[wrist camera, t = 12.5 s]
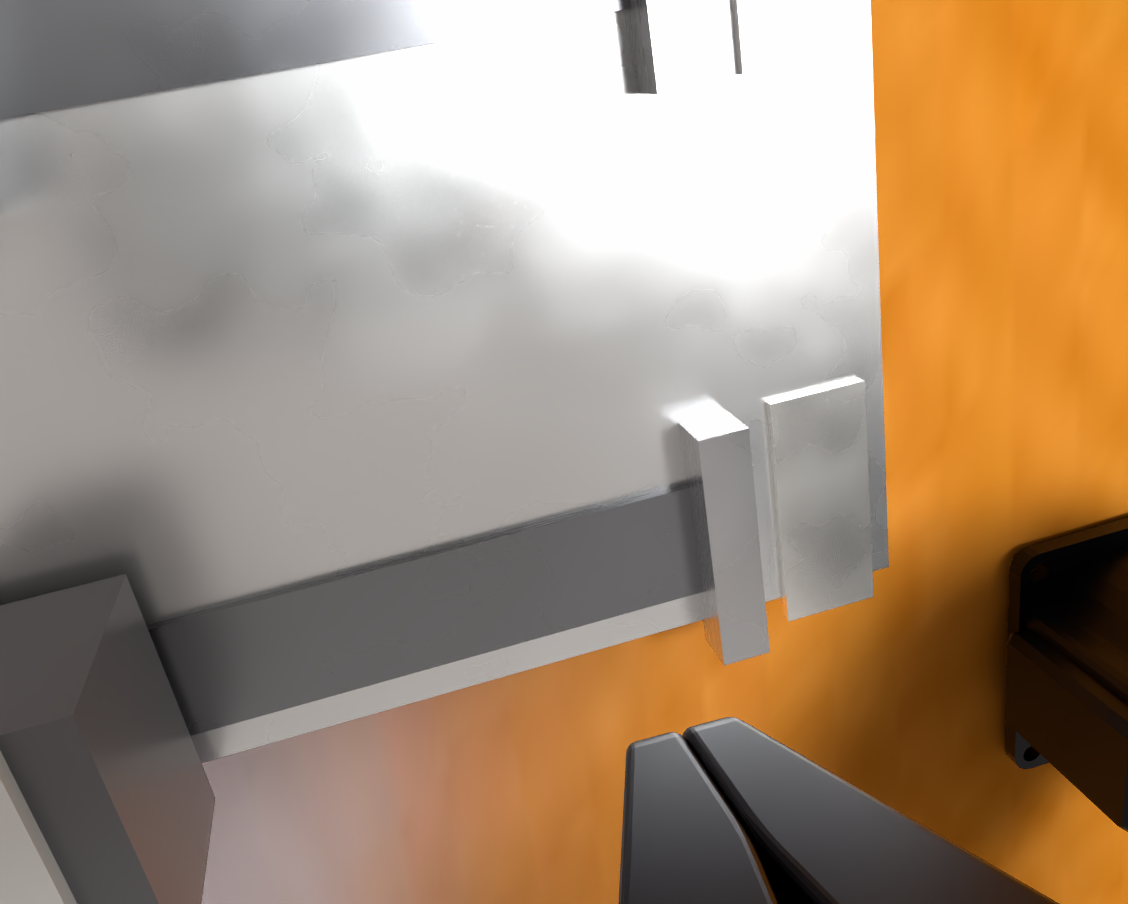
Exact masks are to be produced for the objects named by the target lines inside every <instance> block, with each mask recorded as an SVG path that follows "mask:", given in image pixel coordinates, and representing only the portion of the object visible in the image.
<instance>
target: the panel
mask: <svg viewBox="0 0 1128 904" xmlns="http://www.w3.org/2000/svg"><path fill="white" fill-rule="evenodd" d="M886 567H889V562H888V531H887V499H886V468H885V437H884V406H883V375H882V344H881V313H880V282H879V251H878V220H877V189H876V158H875V127H874V96H873V65H872V34H871V3H870V0H0V605H4V604H8V603H12V602H16V601H20V600H24V599H28V598H32V597H36V596H40V595H44V594H48V593H52V592H56V591H60V590H64V589H68V588H72V587H76V586H80V585H84V584H88V583H92V582H96V581H100V580H103V579H107V578H111V577H115V576H119V575H123V574H126V576H127V578H128V581H129V583H130V586H131V588H132V591H133V593H134V596H135V598H136V601H137V603H138V606H139V608H140V611H141V613H142V616H143V618H144V621H145V623H146V626H147V628H148V631H149V633H150V636H151V638H152V641H153V643H154V646H155V648H156V651H157V653H158V656H159V658H160V661H161V663H162V666H163V668H164V671H165V673H166V676H167V678H168V681H169V683H170V686H171V688H172V691H173V693H174V696H175V698H176V701H177V703H178V706H179V708H180V711H181V713H182V716H183V718H184V721H185V723H186V726H187V728H188V731H189V734H190V736H191V739H192V741H193V744H194V746H195V749H196V751H197V754H198V756H199V759H200V761H201V763H204V762H207V761H211V760H214V759H218V758H221V757H225V756H228V755H232V754H235V753H239V752H242V751H246V750H249V749H253V748H256V747H260V746H263V745H267V744H270V743H274V742H277V741H281V740H284V739H288V738H291V737H295V736H298V735H302V734H305V733H309V732H312V731H316V730H319V729H323V728H326V727H330V726H333V725H337V724H340V723H344V722H347V721H351V720H354V719H358V718H361V717H365V716H368V715H372V714H375V713H379V712H382V711H386V710H389V709H393V708H396V707H400V706H403V705H407V704H410V703H414V702H417V701H421V700H424V699H428V698H431V697H435V696H438V695H442V694H445V693H449V692H452V691H456V690H459V689H463V688H466V687H470V686H473V685H477V684H480V683H484V682H487V681H491V680H494V679H498V678H501V677H504V676H508V675H511V674H515V673H518V672H522V671H525V670H529V669H532V668H536V667H539V666H543V665H546V664H550V663H553V662H557V661H560V660H564V659H567V658H571V657H574V656H578V655H581V654H585V653H588V652H592V651H595V650H599V649H602V648H606V647H609V646H613V645H616V644H620V643H623V642H627V641H630V640H634V639H637V638H641V637H644V636H648V635H651V634H655V633H658V632H662V631H665V630H669V629H672V628H676V627H679V626H683V625H686V624H690V623H693V622H697V621H700V620H704V628H705V637H706V640H707V642H708V643H709V645H710V646H711V647H712V649H713V650H714V652H715V653H716V655H717V656H718V657H719V659H720V660H721V662H722V663H723V665H727V664H731V663H734V662H738V661H741V660H744V659H748V658H751V657H755V656H758V655H761V654H765V653H768V652H770V649H769V638H768V627H767V617H766V606H765V602H767V601H770V600H774V599H777V598H781V597H782V598H783V609H784V617H785V618H786V619H787V621H792V620H795V619H798V618H802V617H805V616H809V615H812V614H816V613H819V612H823V611H826V610H829V609H833V608H836V607H840V606H843V605H847V604H850V603H854V602H857V601H860V600H864V599H867V598H871V597H873V574H872V571H875V570H879V569H882V568H886Z"/></svg>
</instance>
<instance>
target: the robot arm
mask: <svg viewBox="0 0 1128 904" xmlns="http://www.w3.org/2000/svg"><path fill="white" fill-rule="evenodd" d="M1034 565H1036V567H1035V568H1034V569H1033V571H1031V569H1032V568H1033V567H1034ZM1005 720H1006V724H1005V752H1006V755H1007V756H1008V757H1009V758H1010V759H1011V760H1012V761H1013V762H1014V763H1015V764H1016V765H1017V766H1018V767H1019V768H1023V769H1029V768H1033V767H1036V766H1039V765H1042V764H1045V763H1048V762H1050V763H1051V764H1052V765H1053V766H1054V767H1055V768H1056V769H1057V770H1058V771H1059V772H1060V773H1061V774H1063V775H1064V776H1065V777H1066V778H1067V779H1068V780H1069V781H1070V782H1071V783H1072V784H1073V785H1074V786H1075V787H1077V788H1078V789H1079V790H1080V791H1081V792H1082V793H1083V794H1084V795H1085V796H1086V797H1087V798H1088V799H1089V800H1091V801H1092V802H1093V803H1094V804H1095V805H1096V806H1097V807H1098V808H1099V809H1100V810H1101V811H1102V812H1103V813H1105V814H1106V815H1107V816H1108V817H1109V818H1110V819H1111V820H1112V821H1113V822H1114V823H1115V824H1116V825H1117V826H1119V827H1120V828H1122V829H1124V830H1125V831H1127V832H1128V518H1124V519H1121V520H1117V521H1114V522H1110V523H1107V524H1103V525H1100V526H1097V527H1093V528H1090V529H1086V530H1083V531H1079V532H1076V533H1072V534H1069V535H1065V536H1062V537H1059V538H1055V539H1052V540H1048V541H1045V542H1041V543H1038V544H1034V545H1031V546H1028V547H1026V548H1024V549H1022V550H1020V551H1019V552H1018V553H1017V554H1016V555H1015V557H1014V558H1013V560H1012V562H1011V565H1010V570H1009V608H1008V643H1007V665H1006V704H1005ZM619 904H1059V903H1057V902H1055V901H1054V900H1052V899H1050V898H1048V897H1047V896H1045V895H1043V894H1041V893H1040V892H1038V891H1036V890H1035V889H1033V888H1031V887H1029V886H1028V885H1026V884H1024V883H1022V882H1021V881H1019V880H1017V879H1015V878H1014V877H1012V876H1010V875H1009V874H1007V873H1005V872H1003V871H1002V870H1000V869H998V868H996V867H995V866H993V865H991V864H990V863H988V862H986V861H984V860H983V859H981V858H979V857H977V856H976V855H974V854H972V853H970V852H969V851H967V850H965V849H964V848H962V847H960V846H958V845H957V844H955V843H953V842H951V841H950V840H948V839H946V838H945V837H943V836H941V835H939V834H938V833H936V832H934V831H932V830H931V829H929V828H927V827H925V826H924V825H922V824H920V823H919V822H917V821H915V820H913V819H912V818H910V817H908V816H906V815H905V814H903V813H901V812H900V811H898V810H896V809H894V808H893V807H891V806H889V805H887V804H886V803H884V802H882V801H880V800H879V799H877V798H875V797H874V796H872V795H870V794H868V793H867V792H865V791H863V790H861V789H860V788H858V787H856V786H855V785H853V784H851V783H849V782H848V781H846V780H844V779H842V778H841V777H839V776H837V775H835V774H834V773H832V772H830V771H829V770H827V769H825V768H823V767H822V766H820V765H818V764H816V763H815V762H813V761H811V760H810V759H808V758H806V757H804V756H803V755H801V754H799V753H797V752H796V751H794V750H792V749H790V748H789V747H787V746H785V745H784V744H782V743H780V742H778V741H777V740H775V739H773V738H771V737H770V736H768V735H766V734H764V733H763V732H761V731H759V730H758V729H756V728H754V727H752V726H751V725H749V724H747V723H745V722H744V721H742V720H740V719H737V718H733V717H727V718H722V719H719V720H715V721H711V722H707V723H704V724H700V725H696V726H692V727H689V728H687V729H686V731H685V732H684V733H683V735H682V736H681V735H680V734H677V733H674V732H670V733H666V734H662V735H659V736H655V737H651V738H647V739H644V740H640V741H636V742H633V743H631V744H630V745H629V747H628V749H627V752H626V769H625V789H624V808H623V828H622V847H621V867H620V886H619Z"/></svg>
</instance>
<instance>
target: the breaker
mask: <svg viewBox="0 0 1128 904" xmlns="http://www.w3.org/2000/svg"><path fill="white" fill-rule="evenodd" d="M214 804H215V796H214V794H213V791H212V789H211V786H210V784H209V781H208V779H207V776H206V774H205V771H204V769H203V766H202V764H201V761H200V759H199V756H198V754H197V751H196V749H195V746H194V744H193V741H192V739H191V736H190V734H189V731H188V728H187V726H186V723H185V721H184V718H183V716H182V713H181V711H180V708H179V706H178V703H177V701H176V698H175V696H174V693H173V691H172V688H171V686H170V683H169V681H168V678H167V676H166V673H165V671H164V668H163V666H162V663H161V661H160V658H159V656H158V653H157V651H156V648H155V646H154V643H153V641H152V638H151V636H150V633H149V631H148V628H147V626H146V623H145V621H144V618H143V616H142V613H141V611H140V608H139V606H138V603H137V601H136V598H135V596H134V593H133V591H132V588H131V586H130V583H129V581H128V578H127V576H126V574H123V575H119V576H115V577H111V578H107V579H103V580H100V581H96V582H92V583H88V584H84V585H80V586H76V587H72V588H68V589H64V590H60V591H56V592H52V593H48V594H44V595H40V596H36V597H32V598H28V599H24V600H20V601H16V602H12V603H8V604H4V605H0V904H201V902H202V894H203V887H204V879H205V871H206V864H207V856H208V849H209V841H210V834H211V826H212V819H213V811H214Z"/></svg>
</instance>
